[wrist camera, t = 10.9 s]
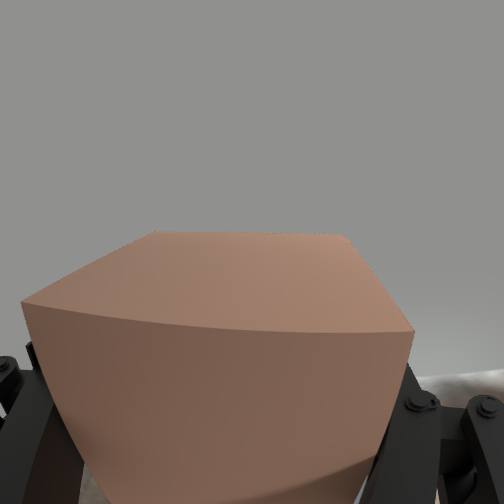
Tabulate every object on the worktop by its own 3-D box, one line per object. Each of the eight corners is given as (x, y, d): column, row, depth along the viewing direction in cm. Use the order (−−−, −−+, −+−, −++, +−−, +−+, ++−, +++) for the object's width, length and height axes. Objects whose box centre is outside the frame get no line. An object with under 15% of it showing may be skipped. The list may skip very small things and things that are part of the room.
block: (319, 436, 13) (344, 234, 11) (321, 559, 7) (414, 331, 4) (180, 425, 14) (154, 231, 12) (133, 533, 7) (20, 301, 5)
